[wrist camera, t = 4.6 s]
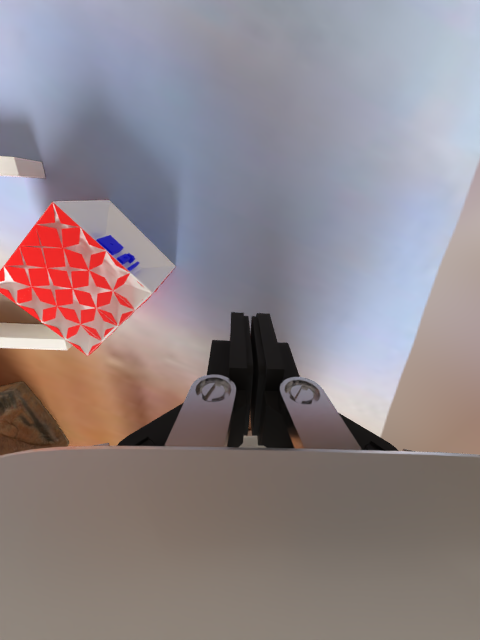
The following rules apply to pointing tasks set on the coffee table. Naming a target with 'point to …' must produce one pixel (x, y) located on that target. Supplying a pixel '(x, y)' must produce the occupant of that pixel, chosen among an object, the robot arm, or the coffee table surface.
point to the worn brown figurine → (26, 421)
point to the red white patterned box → (83, 271)
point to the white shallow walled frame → (15, 332)
